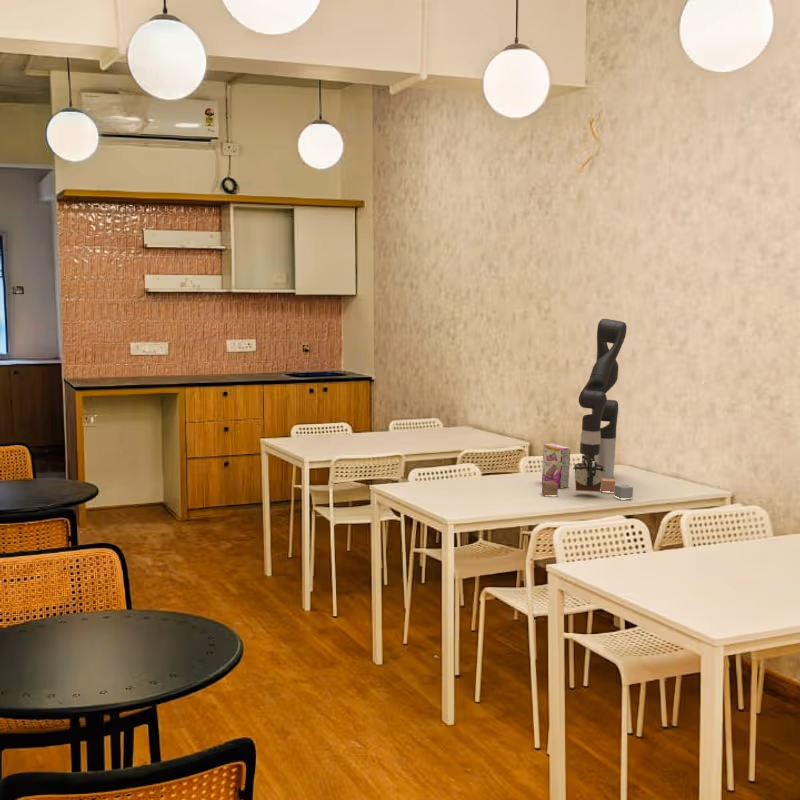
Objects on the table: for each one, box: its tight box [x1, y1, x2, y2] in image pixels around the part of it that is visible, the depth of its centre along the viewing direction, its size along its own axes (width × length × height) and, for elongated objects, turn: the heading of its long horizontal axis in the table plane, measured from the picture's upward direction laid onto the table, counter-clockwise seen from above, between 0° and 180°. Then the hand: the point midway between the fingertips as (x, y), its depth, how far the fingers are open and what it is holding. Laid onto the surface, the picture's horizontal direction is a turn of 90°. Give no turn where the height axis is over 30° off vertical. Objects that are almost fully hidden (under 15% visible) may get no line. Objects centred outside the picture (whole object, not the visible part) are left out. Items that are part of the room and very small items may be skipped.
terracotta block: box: [600, 478, 616, 492], centre depth 401 cm, size 5×5×5 cm
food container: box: [572, 462, 605, 493], centre depth 393 cm, size 12×6×10 cm, turn 85°
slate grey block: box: [613, 484, 634, 498], centre depth 389 cm, size 5×5×5 cm
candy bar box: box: [541, 443, 571, 489], centre depth 409 cm, size 11×5×16 cm, turn 34°
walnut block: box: [541, 481, 559, 496], centre depth 392 cm, size 5×5×5 cm
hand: (587, 484), depth 393 cm, fingers closed on food container, 5 cm apart
